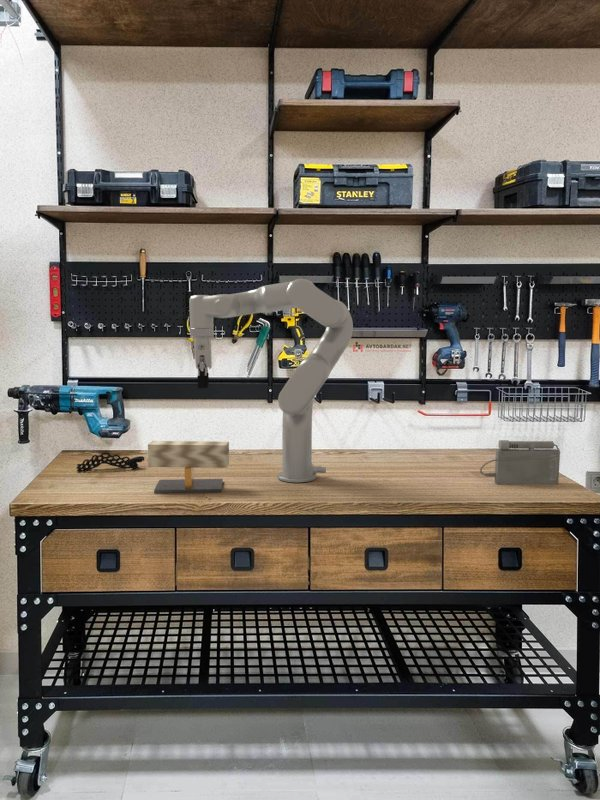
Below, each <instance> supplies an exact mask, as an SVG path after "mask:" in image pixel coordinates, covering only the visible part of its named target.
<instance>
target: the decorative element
mask: <svg viewBox="0 0 600 800" xmlns="http://www.w3.org/2000/svg"><path fill="white" fill-rule="evenodd" d="M104 455H107V456H104ZM115 457H117V458H115ZM125 459H126V460H125ZM144 461H145V456H143V455H142V456H139V455H138V456H135V457H133V458H130V457H129V456H123V457H121V456H120V454H114V455H111V454H110V453H109V452H106V451H105V452H104V451H103V452H101V454H99V455H97V454H94V455H92V457H91V458H90V459H87V458H85V459H84V460H83V461H82V463H77V464H76V472H88V471H91V470H93V469H95V468H96V469H97V468H98V467H100V466H101V465H103V464H106V465H108V466H112V467H115V468H117V467H118V468H120V469H131V470H133V469H137V470H138V467H139V464H138V463H142V462H144ZM134 467H135V468H134Z"/></svg>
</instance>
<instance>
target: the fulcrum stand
mask: <svg viewBox="0 0 600 800" xmlns="http://www.w3.org/2000/svg"><path fill="white" fill-rule="evenodd" d="M194 469H195V468H190V467H184V478H182V479H181V478H180V479H159V480H158V482H157V484H156V486H155V488H154V490H153V494H188V493H189V494H191V493H192V494H195V493H198V494H201V493H221V492H222V489H223V483H224V478H195V475H194V474H195V473H194V471H195V470H194Z"/></svg>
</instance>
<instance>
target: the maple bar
mask: <svg viewBox="0 0 600 800" xmlns="http://www.w3.org/2000/svg"><path fill="white" fill-rule="evenodd" d="M147 459H148V460H147V462H148V467H149V468H185V467H190V468H194V469H196V468H197V469H198V468H200V469H201V468H202V469H204V468H205V469H207V468H209V469H210V468H211V469H213V468H215V469H227V468H228V466H229V465H230V441H209V440H208V441H205V440H204V441H202V440H201V441H200V440H199V441H195V440H193V441H191V440H184V441H183V440H151V441H150V442H149V443H148V444H147Z"/></svg>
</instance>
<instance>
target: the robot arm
mask: <svg viewBox="0 0 600 800" xmlns="http://www.w3.org/2000/svg"><path fill="white" fill-rule="evenodd" d="M188 300H189V301H188V302H189V307H188V308H189V327H190V328H189V331H190V332H189V333H190V336H189V337H190V339H193V342H194V343H193V345H194V346H193V347H194V359H195V360H194V362H195V369H196V370H197V388H198V389H208V388H209V384H210V382H209V380H210V378H209V377H210V376H209V375H210V374H209V370H211V369H212V366H213V364H212V363H213V362H212V341H211V339H214V338H215V335H214V333H215V332H214V329H215V328H214V327H215V326H214V318H219V319H227V318H234V317H235V318H236V317H239V316H240V317H241V316H247V315H255V314H261V313H263V314H266V313H273V312H279V311H280V312H281V311H285V310H292V309H298V310H300V311H301V312H303V313H304V314H305V315H307V316H308V317H310V318H311V319H313V320H315V321H316V322H318V323H319V324H320V325H322V326H324V327H325V331H324V332H323V334H322V335H321V337H320V338H319V340H318V342H317V344H316V345H315V347H314V348H313V349H312V351H311V352H310V353H309V355H307V356H306V357H305V358H304V359H302V360H301V361H300V363H299V364H298V365H297V367H296V368H295V370H294V371H293V373H292V375H290V376H289V377H290V378H289V379H288V380H287V381H286V383H285V385H284V386H283V388H282V389H281V391H280V392H279V394H278V397H277V403H278V407H279V409H280V410H281V411H282V424H281V425H282V430H281V431H282V435H281V437H282V439H281V441H282V443H281V444H282V445H281V446H282V447H281V448H282V449H281V450H282V455H281V456H282V460H281V462H282V471H281V472H279V473H278V474H277V479H278V480H280V481H282V482H287V483H307V482H312V481H315V480H316V479H317V473H318V474H319V473H320V474H326V473H327V470H326V469H327V468H326V466H321V465H319V466H318V465H317V466H315V465H313V462H312V457H313V456H312V455H313V453H312V452H313V451H312V450H313V448H312V447H313V446H312V445H313V444H312V441H313V439H312V437H313V436H312V435H313V433H312V431H313V408H314V406H313V405H314V404H313V403H314V398H315V397H316V396H317V394H318V393H319V391H320V389H321V388H322V387H323V385H324V384H325V382H326V381H327V380H328V379H329V377H330V374H331V372H332V371H333V370H334V368H335V366H336V364H337V363H338V361H339V360H340V358H341V357H342V355H343V354H344V352H345V350H346V349H347V347H348V346H349V343H350V342H351V339H352V335H353V331H354V330H353V329H354V323H353V318H352V315H351V313H350V311H349V308H348V307H347V306H346V304H345V303H344V302H342V301H340V300H337V299H335V298H333V297H331V295H329V294H327V293H326V292H324V291H323V290H321V289H320V288H319V287H317V286H316V285H315V284H314V283H313V282H312V281H311V280H309V279H306V278H297V279H294V280H291V281H286V282H285V281H284V282H280V283H273V284H267V285H262V286H260V287H258V288H256V289H252V290H248V291H243V292H238V293H237V292H236V293H231V294H229V293H227V294H226V293H225V294H224V293H222V294H220V293H219V294H215V295H208V294H194V295H190V298H189V299H188ZM208 369H209V370H208Z"/></svg>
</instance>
